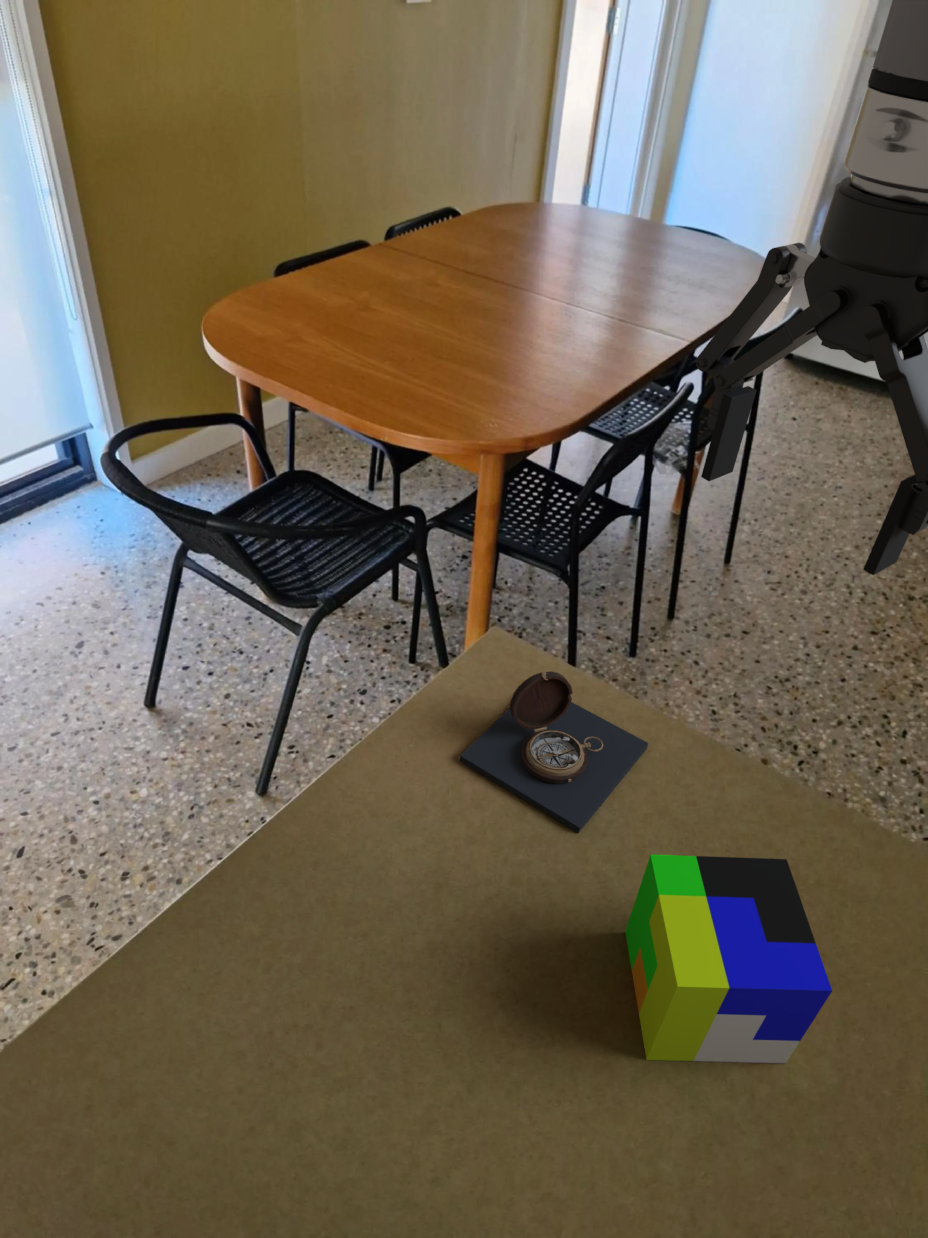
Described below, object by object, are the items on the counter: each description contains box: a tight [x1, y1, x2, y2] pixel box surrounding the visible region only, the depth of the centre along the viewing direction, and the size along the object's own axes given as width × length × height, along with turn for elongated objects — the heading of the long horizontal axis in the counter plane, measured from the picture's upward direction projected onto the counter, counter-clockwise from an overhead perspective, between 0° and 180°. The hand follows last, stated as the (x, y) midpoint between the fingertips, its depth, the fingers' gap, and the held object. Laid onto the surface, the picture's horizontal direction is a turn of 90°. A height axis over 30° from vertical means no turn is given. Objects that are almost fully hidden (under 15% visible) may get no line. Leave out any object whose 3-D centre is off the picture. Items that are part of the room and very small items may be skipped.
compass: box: [509, 671, 603, 783], centre depth 81 cm, size 8×8×7 cm
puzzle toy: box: [624, 854, 833, 1064], centre depth 63 cm, size 10×10×10 cm
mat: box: [459, 701, 649, 834], centre depth 84 cm, size 13×13×1 cm
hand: (792, 517), depth 61 cm, fingers open, 13 cm apart
